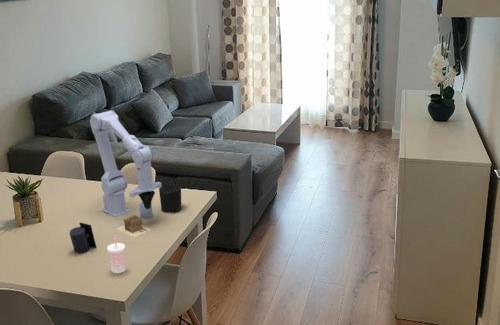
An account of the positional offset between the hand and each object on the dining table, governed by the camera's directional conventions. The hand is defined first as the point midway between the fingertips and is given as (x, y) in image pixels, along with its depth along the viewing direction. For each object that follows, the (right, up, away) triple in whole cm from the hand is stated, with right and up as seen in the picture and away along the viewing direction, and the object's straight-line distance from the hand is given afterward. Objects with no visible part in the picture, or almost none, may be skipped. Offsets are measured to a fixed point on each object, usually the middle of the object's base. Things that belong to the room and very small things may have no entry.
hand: (147, 208), depth 226 cm
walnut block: (-5, -8, -3) cm, 10 cm away
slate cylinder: (-2, -4, +9) cm, 10 cm away
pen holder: (+8, -2, +16) cm, 18 cm away
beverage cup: (-4, -19, -33) cm, 38 cm away
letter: (-5, -8, -3) cm, 10 cm away
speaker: (-21, -14, -19) cm, 31 cm away
